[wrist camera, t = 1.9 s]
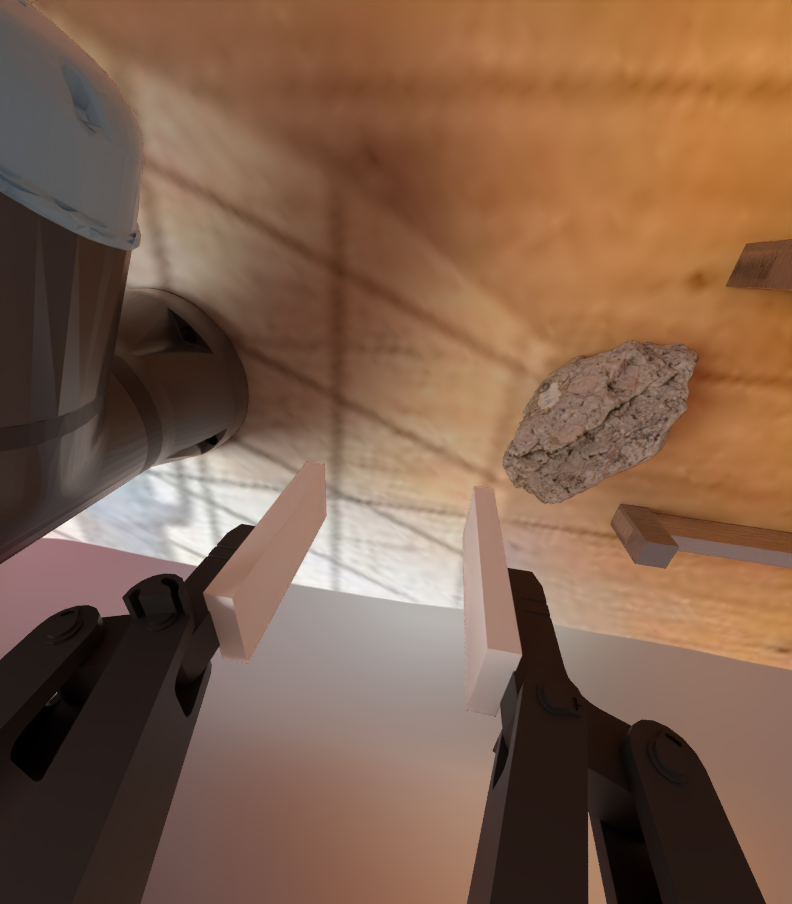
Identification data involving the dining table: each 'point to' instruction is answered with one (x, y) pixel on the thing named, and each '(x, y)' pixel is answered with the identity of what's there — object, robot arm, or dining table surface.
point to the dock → (665, 535)
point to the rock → (599, 418)
